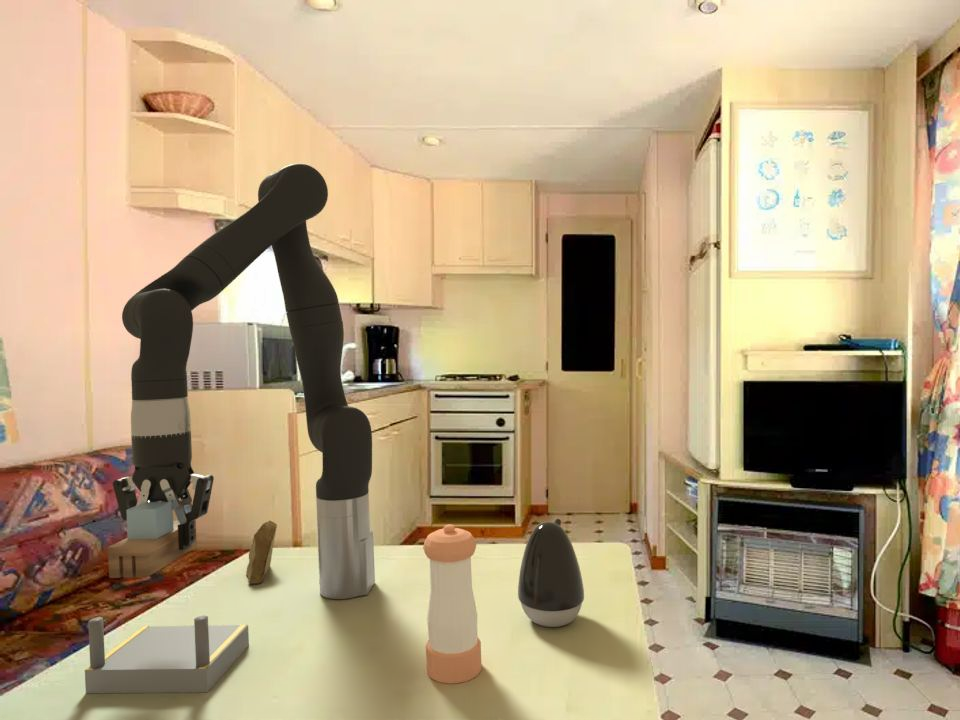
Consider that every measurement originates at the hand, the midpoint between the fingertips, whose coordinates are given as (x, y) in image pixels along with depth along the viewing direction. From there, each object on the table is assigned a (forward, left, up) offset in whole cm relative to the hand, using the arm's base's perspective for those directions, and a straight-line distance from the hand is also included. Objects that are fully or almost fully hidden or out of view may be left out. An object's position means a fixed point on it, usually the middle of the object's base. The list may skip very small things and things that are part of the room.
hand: (166, 548), depth 84 cm
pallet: (0, +2, -1) cm, 3 cm away
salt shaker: (-41, +4, -16) cm, 44 cm away
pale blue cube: (0, +3, +3) cm, 5 cm away
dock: (-2, +3, -15) cm, 16 cm away
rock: (+1, -31, -16) cm, 34 cm away
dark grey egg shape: (-55, -10, -16) cm, 58 cm away
